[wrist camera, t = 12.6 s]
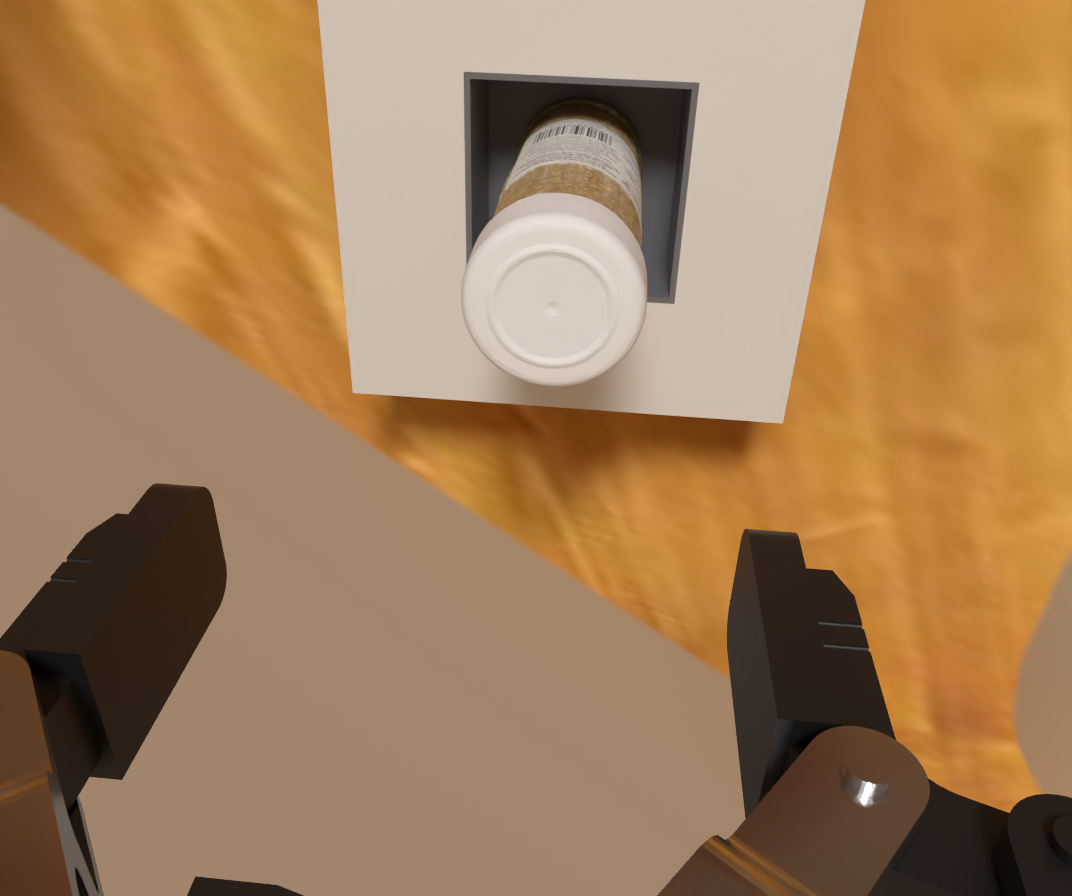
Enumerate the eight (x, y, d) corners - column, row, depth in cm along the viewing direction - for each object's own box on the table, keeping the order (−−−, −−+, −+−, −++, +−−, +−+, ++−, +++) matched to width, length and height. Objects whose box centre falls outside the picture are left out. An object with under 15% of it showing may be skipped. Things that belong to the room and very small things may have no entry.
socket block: (354, -105, 31) (308, -100, 26) (846, -88, 30) (881, -80, 25) (384, 336, 39) (352, 392, 35) (767, 361, 38) (782, 423, 34)
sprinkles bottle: (504, 199, 35) (438, 362, 23) (539, 75, 32) (483, 189, 21) (621, 237, 35) (611, 415, 24) (664, 117, 33) (676, 251, 21)
